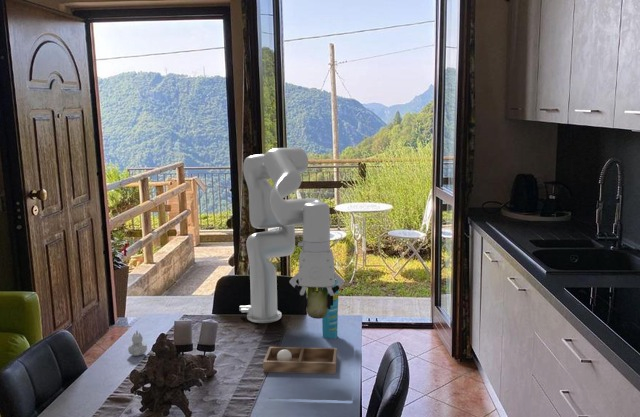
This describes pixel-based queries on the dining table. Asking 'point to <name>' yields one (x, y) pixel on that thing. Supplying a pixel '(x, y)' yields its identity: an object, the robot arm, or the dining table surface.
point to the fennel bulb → (317, 302)
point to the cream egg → (284, 355)
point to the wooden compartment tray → (302, 360)
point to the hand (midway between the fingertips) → (317, 307)
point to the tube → (331, 318)
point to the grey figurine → (137, 345)
